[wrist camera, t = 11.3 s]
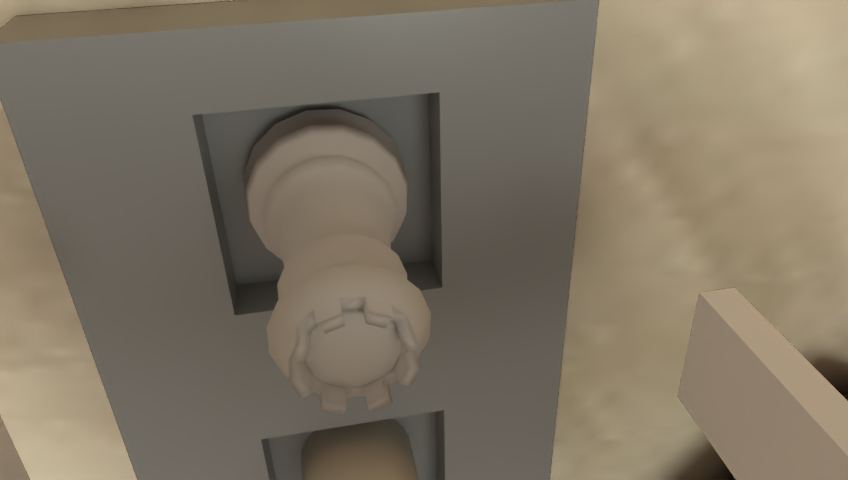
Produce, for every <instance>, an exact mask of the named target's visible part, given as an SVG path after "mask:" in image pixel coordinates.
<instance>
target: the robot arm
mask: <svg viewBox="0 0 848 480" xmlns="http://www.w3.org/2000/svg"><path fill="white" fill-rule="evenodd" d="M677 397H678V398H679V399H680V401H681V402H682V404H683V405H684V406H685V408H686V409H687V411H688V412H689V414H690V415H691V416H692V418H693V419H694V421H695V422H696V424H697V425H698V426H699V428H700V429H701V431H702V432H703V434H704V435H705V436H706V438H707V439H708V441H709V442H710V443H711V445H712V446H713V448H714V449H715V451H716V452H717V453H718V455H719V456H720V458H721V459H722V461H723V462H724V463H725V465H726V466H727V468H728V469H729V471H730V472H731V473H732V475H733V476H734V478H735V479H736V480H848V401H847V400H846V399H845V398H844V397H843V396H842V395H841V394H840V393H839V392H838V391H837V390H836V389H835V388H834V387H833V386H832V385H831V384H830V383H829V382H828V381H827V380H826V379H825V378H824V377H823V376H822V375H821V374H820V373H819V372H818V371H817V370H816V369H815V368H814V366H813V365H812V364H811V363H810V362H809V361H808V360H807V359H806V358H805V357H804V356H803V355H802V354H801V353H800V352H799V351H798V350H797V349H796V348H795V347H794V346H793V345H792V344H791V343H790V342H789V341H788V340H787V339H786V338H785V337H784V336H783V335H782V334H781V333H780V332H779V331H778V330H777V329H776V328H775V327H774V326H773V325H772V324H771V323H770V322H769V321H768V320H767V319H766V318H765V317H764V316H763V315H762V314H761V313H760V312H759V311H758V310H757V309H756V308H755V307H754V306H753V305H752V304H751V303H750V302H749V301H748V300H747V299H746V298H745V297H744V296H743V295H742V294H741V293H740V292H739V291H738V290H737V289H736V288H729V289H721V290H714V291H706V292H699V296H698V301H697V306H696V311H695V315H694V320H693V325H692V330H691V334H690V339H689V344H688V349H687V354H686V358H685V363H684V368H683V373H682V377H681V382H680V387H679V392H678V396H677ZM0 480H30V478H29V476H28V474H27V472H26V470H25V468H24V465H23V463H22V461H21V459H20V457H19V455H18V452H17V450H16V448H15V446H14V444H13V442H12V439H11V437H10V435H9V433H8V431H7V429H6V427H5V424H4V422H3V420H2V418H1V416H0Z"/></svg>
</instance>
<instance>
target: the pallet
mask: <svg viewBox="0 0 848 480" xmlns="http://www.w3.org/2000/svg"><path fill="white" fill-rule="evenodd" d="M598 6H599V0H239V1H224V2H210V3H196V4H181V5H167V6H152V7H138V8H123V9H109V10H95V11H80V12H66V13H51V14H37V15H22V16H15V17H14V18H13V19H12V20H10V21H9V22H8V23H7V24H5V25H4V26H3V27H2V28H1V29H0V99H1V102H2V104H3V107H4V110H5V113H6V115H7V118H8V121H9V124H10V127H11V129H12V132H13V135H14V138H15V141H16V143H17V146H18V149H19V152H20V154H21V157H22V160H23V163H24V166H25V168H26V171H27V174H28V177H29V179H30V182H31V185H32V188H33V191H34V193H35V196H36V199H37V202H38V205H39V207H40V210H41V213H42V216H43V218H44V221H45V224H46V227H47V230H48V232H49V235H50V238H51V241H52V243H53V246H54V249H55V252H56V255H57V257H58V260H59V263H60V266H61V269H62V271H63V274H64V277H65V280H66V282H67V285H68V288H69V291H70V294H71V296H72V299H73V302H74V305H75V307H76V310H77V313H78V316H79V319H80V321H81V324H82V327H83V330H84V333H85V335H86V338H87V341H88V344H89V346H90V349H91V352H92V355H93V358H94V360H95V363H96V366H97V369H98V371H99V374H100V377H101V380H102V383H103V385H104V388H105V391H106V394H107V397H108V399H109V402H110V405H111V408H112V410H113V413H114V416H115V419H116V422H117V424H118V427H119V430H120V433H121V435H122V438H123V441H124V444H125V447H126V449H127V452H128V455H129V458H130V461H131V463H132V466H133V469H134V472H135V474H136V477H137V480H550V473H551V463H552V453H553V444H554V434H555V424H556V414H557V405H558V395H559V385H560V375H561V366H562V356H563V346H564V337H565V327H566V317H567V307H568V298H569V288H570V278H571V268H572V259H573V249H574V239H575V230H576V220H577V210H578V200H579V191H580V181H581V171H582V161H583V152H584V142H585V132H586V122H587V113H588V103H589V93H590V84H591V74H592V64H593V54H594V45H595V35H596V25H597V15H598ZM329 109H341V110H344V111H347V112H350V113H352V114H355V115H358V116H361V117H364V118H367V119H369V120H371V121H372V122H374V123H375V124H376V125H377V126H378V127H379V128H380V129H381V130H382V131H383V132H385V133H386V134H387V135H388V136H389V137H390V138H391V139H392V140H393V141H394V143H395V145H396V148H397V150H398V152H399V154H400V157H401V159H402V161H403V164H404V166H405V176H406V178H407V181H408V195H407V212H406V216H405V218H404V220H403V222H402V224H401V226H400V229H399V231H398V233H397V235H396V237H395V239H394V240H393V241H392V242H391V250H392V251H394V252H395V253H396V254H398V256H399V258H400V260H401V262H402V264H403V266H404V268H405V270H406V272H407V280H408V281H409V282H411V283H412V284H413V285H415V286H416V287H417V288H418V289H420V291H421V293H422V295H423V297H424V299H425V301H426V303H427V306H428V308H429V310H430V312H431V323H430V338H429V340H428V342H427V344H426V346H425V348H424V350H423V351H422V353H421V355H420V357H419V359H418V360H419V364H420V368H421V369H420V371H419V373H418V375H417V377H416V378H415V380H414V382H413V384H412V386H411V387H408V386H406V385H403V384H401V383H398V379H397V380H396V381H395V382H394V383H393V384H392V385H390V386H389V388H390V393H391V398H392V402H393V403H390V404H388V405H386V406H383V407H381V408H379V409H376V410H374V411H371V412H369V409H368V405H367V401H366V396H362V397H352V398H346V400H347V406H346V411H345V415H341V414H336V413H330V412H325V411H321V410H320V399H319V394H318V393H315V392H312V393H311V394H309V395H307V396H306V397H304V398H303V399H301V398H300V397H299V395H298V394H297V392H296V391H295V389H294V388H293V387H292V385H291V384H290V380H289V378H288V377H286V376H285V375H284V374H283V373H282V372H281V370H280V369H279V367H278V366H277V364H276V363H275V361H274V360H273V358H272V357H271V356H270V354H269V348H268V338H267V328H266V327H267V325H268V323H269V320H270V318H271V315H272V313H273V311H274V308H275V306H276V303H277V301H278V300H279V299H278V288H277V283H278V281H279V279H280V276H281V274H282V271H283V269H284V264H283V261H282V260H281V259H280V258H278V257H277V256H276V255H275V254H273V253H272V252H271V251H269V250H268V249H266V247H265V245H264V244H263V242H262V240H261V239H260V237H259V236H258V234H257V232H256V231H255V229H254V227H253V226H252V224H251V222H250V221H249V219H248V211H247V204H246V195H245V186H244V177H243V174H244V172H245V169H246V166H247V163H248V160H249V158H250V155H251V152H252V149H253V147H254V145H255V144H256V143H257V142H258V141H259V140H260V139H261V138H262V137H263V136H264V135H265V134H266V133H267V132H268V131H269V130H270V129H271V128H272V127H273V126H274V125H275V124H276V123H278V122H280V121H283V120H285V119H287V118H290V117H292V116H294V115H297V114H299V113H301V112H304V111H306V110H329Z"/></svg>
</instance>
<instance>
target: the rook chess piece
mask: <svg viewBox="0 0 848 480" xmlns="http://www.w3.org/2000/svg"><path fill="white" fill-rule="evenodd" d="M243 177H244V186H245V195H246V204H247V211H248V219H249V221H250V222H251V224H252V226H253V227H254V229H255V231H256V232H257V234H258V236H259V237H260V239H261V240H262V242H263V244H264V245H265V247H266V249H268V250H269V251H271V252H272V253H273V254H275V255H276V256H277V257H278V258H280V259H281V260H282V261H283V264H284V269H283V271H282V274H281V276H280V279H279V281H278V283H277V288H278V299H279V300H278V301H277V303H276V306H275V308H274V311H273V313H272V315H271V318H270V320H269V323H268V325H267V327H266V328H267V338H268V348H269V354H270V356H271V357H272V358H273V360H274V361H275V363H276V364H277V366H278V367H279V369H280V370H281V372H282V373H283V374H284V375H285V376H286V377H288V378H289V380H290V384H291V385H292V387H293V388H294V389H295V391H296V392H297V394H298V395H299V397H300V398H301V399H303V398H304V397H306V396H307V395H309V394H311V393H312V392H315V393H318V394H319V399H320V410H321V411H325V412H330V413H336V414H341V415H345V411H346V406H347V400H346V398H352V397H362V396H366V401H367V405H368V409H369V412H371V411H374V410H376V409H379V408H381V407H383V406H386V405H388V404H390V403H393V402H392V398H391V393H390V388H389V386H390V385H392V384H393V383H394V382H395V381H396V380H397V379H398V383H401V384H403V385H406V386H408V387H411V386H412V384H413V382H414V380H415V378H416V377H417V375H418V373H419V371H420V369H421V368H420V364H419V360H418V359H419V357H420V355H421V353H422V351H423V350H424V348H425V346H426V344H427V342H428V340H429V338H430V323H431V312H430V310H429V308H428V306H427V303H426V301H425V299H424V297H423V295H422V293H421V291H420V289H418V288H417V287H416V286H415V285H413V284H412V283H411V282H409V281H408V280H407V272H406V270H405V268H404V266H403V264H402V262H401V260H400V258H399V256H398V254H396V253H395V252H394V251H392V250H391V242H392V241H393V240H394V239H395V237H396V235H397V233H398V231H399V229H400V226H401V224H402V222H403V220H404V218H405V216H406V212H407V195H408V181H407V178H406V176H405V166H404V164H403V161H402V159H401V157H400V154H399V152H398V150H397V148H396V145H395V143H394V141H393V140H392V139H391V138H390V137H389V136H388V135H387V134H386V133H385V132H383V131H382V130H381V129H380V128H379V127H378V126H377V125H376V124H375V123H374V122H372V121H371V120H369V119H367V118H364V117H361V116H358V115H355V114H352V113H350V112H347V111H344V110H341V109H329V110H306V111H304V112H301V113H299V114H297V115H294V116H292V117H290V118H287V119H285V120H283V121H280V122H278V123H276V124H275V125H274V126H273V127H272V128H271V129H270V130H269V131H268V132H267V133H266V134H265V135H264V136H263V137H262V138H261V139H260V140H259V141H258V142H257V143H256V144H255V145H254V147H253V149H252V152H251V155H250V158H249V160H248V163H247V166H246V169H245V172H244V174H243Z"/></svg>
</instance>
